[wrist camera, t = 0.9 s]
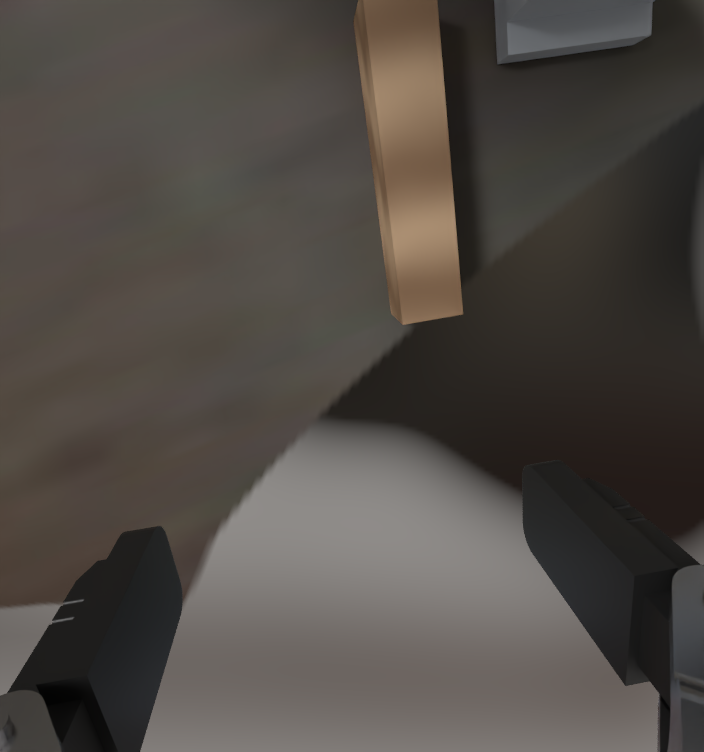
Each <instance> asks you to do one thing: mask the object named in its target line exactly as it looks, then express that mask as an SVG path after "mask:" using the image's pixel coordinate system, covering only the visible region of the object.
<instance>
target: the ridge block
mask: <svg viewBox="0 0 704 752" xmlns="http://www.w3.org/2000/svg"><path fill="white" fill-rule="evenodd" d="M654 1H655V0H494V5H495V26H496V47H497V64H504V63H511V62H518V61H525V60H532V59H539V58H547V57H554V56H561V55H568V54H575V53H582V52H589V51H596V50H603V49H610V48H617V47H624V46H631V45H634V44H636V43H638V42H640V41H641V40H643V39H645V38H647V37H649V36H651V30H652V4H653V2H654Z"/></svg>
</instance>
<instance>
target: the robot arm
mask: <svg viewBox="0 0 704 752" xmlns="http://www.w3.org/2000/svg"><path fill="white" fill-rule="evenodd" d="M522 479H523V480H522V481H523V482H522V487H523V528H524V534H525V538H526V541H527V543H528V546H529V548H530V550H531V552H532V553H533V555H534V556H535V558H536V559H537V561H538V562H539V564H540V565H541V566H542V568H543V569H544V571H545V572H546V573H547V575H548V576H549V578H550V579H551V580H552V582H553V583H554V585H555V586H556V588H557V589H558V590H559V592H560V593H561V595H562V596H563V598H564V599H565V601H566V602H567V603H568V605H569V606H570V608H571V609H572V610H573V612H574V613H575V615H576V616H577V617H578V619H579V620H580V622H581V623H582V625H583V626H584V627H585V629H586V630H587V632H588V633H589V635H590V636H591V638H592V639H593V640H594V642H595V643H596V645H597V646H598V647H599V649H600V650H601V652H602V653H603V654H604V656H605V657H606V659H607V660H608V662H609V663H610V665H611V666H612V667H613V669H614V670H615V672H616V673H617V674H618V676H619V677H620V679H621V680H622V682H623V683H624V685H625V686H628V685H633V684H637V683H643V682H648V681H650V682H651V683H652V685H653V686H654V687H655V688H656V690H657V691H658V692H659V700H658V735H657V738H658V739H657V740H658V741H657V752H704V565H700V564H699V563H698V562H697V561H696V560H695V559H693V558H692V557H691V556H690V555H689V554H687V552H685V551H684V550H683V549H682V548H681V547H680V546H678V545H677V544H676V543H675V542H674V541H673V540H671V539H670V538H669V537H668V536H667V535H666V534H664V533H663V532H662V531H661V530H660V529H659V528H657V527H656V526H655V525H654V524H652V522H650V521H649V520H645V518H644V516H643V515H642V514H641V513H640V512H639V511H638V510H636V509H635V508H634V507H630V504H629V503H628V502H627V501H626V500H625V499H623V498H622V497H621V496H620V495H619V494H618V493H616V492H615V491H614V490H613V489H611V488H609V487H607V486H605V485H603V484H601V483H598V482H596V481H594V480H592V479H590V478H586V479H581V478H580V477H579V476H578V475H577V474H575V473H574V472H573V471H572V470H571V469H570V468H569V467H568V466H566V464H565V463H563V462H562V461H560V460H555V461H549V462H543V463H538V464H532V465H526V466H525V467H524V470H523V475H522ZM181 611H182V587H181V582H180V579H179V575H178V572H177V569H176V565H175V562H174V559H173V555H172V552H171V549H170V545H169V542H168V539H167V535H166V533H165V531H164V529H163V528H162V527H161V526H157V527H151V528H145V529H139V530H133V531H127V532H124V533H122V534H121V535H120V537H119V539H118V540H117V542H116V544H115V546H114V547H113V549H112V551H111V553H110V555H109V556H108V558H107V559H106V560H101V561H97V562H96V563H95V564H94V565H93V566H92V567H91V568H90V569H89V570H88V571H86V572H85V573H84V574H83V575H82V576H81V577H80V578H79V579H78V580H77V581H76V582H75V584H74V586H73V587H72V589H71V590H70V592H69V594H68V595H67V597H66V599H65V600H64V605H63V606H61V607H60V608H59V610H58V612H57V613H56V615H55V616H54V618H53V620H52V621H53V622H52V624H51V625H49V626H48V628H47V630H46V631H45V633H44V635H43V636H42V638H41V639H40V641H39V643H38V644H37V646H36V647H35V649H34V650H33V652H32V654H31V655H30V657H29V659H28V660H27V662H26V663H25V665H24V667H23V668H22V670H21V672H20V674H19V675H18V676H17V678H16V680H15V681H14V683H13V685H12V686H11V688H10V690H9V691H8V693H7V694H4V695H1V696H0V752H140V750H141V746H142V743H143V740H144V736H145V733H146V730H147V726H148V723H149V719H150V716H151V713H152V710H153V706H154V703H155V700H156V696H157V693H158V690H159V686H160V683H161V679H162V676H163V673H164V669H165V666H166V663H167V659H168V656H169V653H170V649H171V646H172V643H173V639H174V636H175V633H176V629H177V626H178V623H179V619H180V616H181Z"/></svg>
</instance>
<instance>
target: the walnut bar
mask: <svg viewBox="0 0 704 752" xmlns="http://www.w3.org/2000/svg"><path fill="white" fill-rule="evenodd" d="M353 22H354V30H355V37H356V45H357V53H358V61H359V68H360V76H361V84H362V91H363V99H364V107H365V115H366V122H367V130H368V138H369V145H370V153H371V161H372V169H373V176H374V184H375V192H376V199H377V207H378V215H379V223H380V230H381V238H382V246H383V254H384V261H385V269H386V277H387V284H388V292H389V300H390V308H391V314H392V315H393V316H394V317H395V318H396V319H397V320H398V321H399V322H401V323H402V324H403V325H405V324H411V323H416V322H422V321H428V320H433V319H439V318H445V317H451V316H456V315H463V305H462V293H461V281H460V269H459V257H458V245H457V233H456V220H455V208H454V196H453V184H452V172H451V160H450V148H449V135H448V123H447V111H446V99H445V87H444V75H443V63H442V50H441V38H440V26H439V14H438V2H437V0H358V4H357V8H356V13H355V17H354V21H353Z"/></svg>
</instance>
